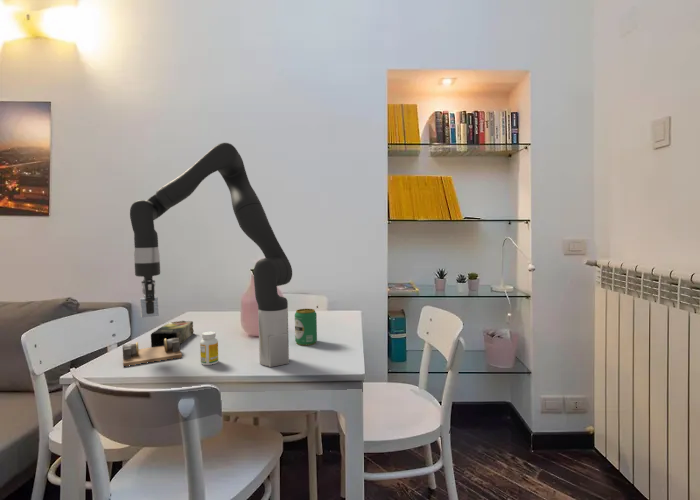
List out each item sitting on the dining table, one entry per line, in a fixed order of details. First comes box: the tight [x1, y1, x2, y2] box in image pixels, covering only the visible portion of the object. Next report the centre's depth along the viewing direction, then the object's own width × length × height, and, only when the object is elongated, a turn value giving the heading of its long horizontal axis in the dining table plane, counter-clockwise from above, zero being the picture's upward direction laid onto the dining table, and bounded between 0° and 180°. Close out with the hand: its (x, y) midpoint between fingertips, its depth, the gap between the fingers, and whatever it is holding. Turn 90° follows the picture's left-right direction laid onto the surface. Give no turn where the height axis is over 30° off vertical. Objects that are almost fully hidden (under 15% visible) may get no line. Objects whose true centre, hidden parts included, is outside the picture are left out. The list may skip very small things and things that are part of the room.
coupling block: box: [139, 295, 160, 319], centre depth 136 cm, size 5×5×6 cm
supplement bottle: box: [199, 331, 219, 366], centre depth 130 cm, size 5×5×10 cm
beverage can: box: [294, 308, 318, 346], centre depth 150 cm, size 8×8×12 cm
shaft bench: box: [122, 337, 183, 367], centre depth 137 cm, size 17×14×5 cm
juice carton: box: [150, 320, 194, 347], centre depth 157 cm, size 20×10×6 cm, turn 4°
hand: (149, 311), depth 136 cm, fingers closed on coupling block, 4 cm apart
